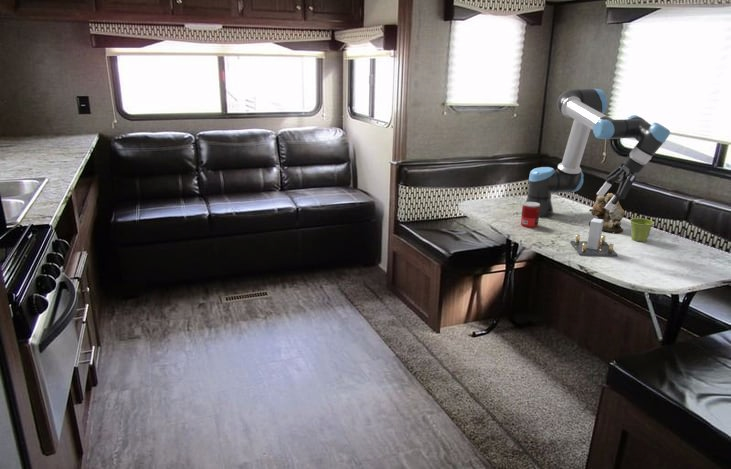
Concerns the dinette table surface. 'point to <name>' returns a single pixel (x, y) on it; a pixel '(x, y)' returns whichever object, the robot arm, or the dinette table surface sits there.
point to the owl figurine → (608, 214)
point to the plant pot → (640, 229)
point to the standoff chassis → (601, 251)
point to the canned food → (530, 214)
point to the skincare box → (595, 233)
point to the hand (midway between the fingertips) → (603, 202)
